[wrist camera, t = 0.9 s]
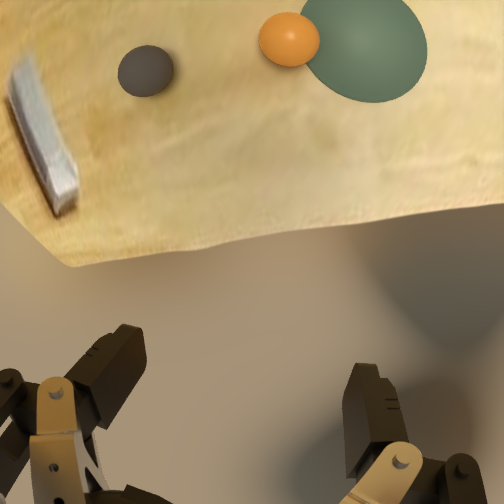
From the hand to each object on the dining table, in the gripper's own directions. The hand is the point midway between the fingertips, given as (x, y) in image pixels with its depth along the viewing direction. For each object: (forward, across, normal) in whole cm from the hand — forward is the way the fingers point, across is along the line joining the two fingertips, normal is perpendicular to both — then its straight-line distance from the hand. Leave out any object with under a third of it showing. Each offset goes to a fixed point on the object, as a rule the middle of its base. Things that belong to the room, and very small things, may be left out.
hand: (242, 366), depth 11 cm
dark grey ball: (+19, +14, -15) cm, 28 cm away
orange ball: (+19, +1, -18) cm, 26 cm away
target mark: (+22, -7, -20) cm, 31 cm away
